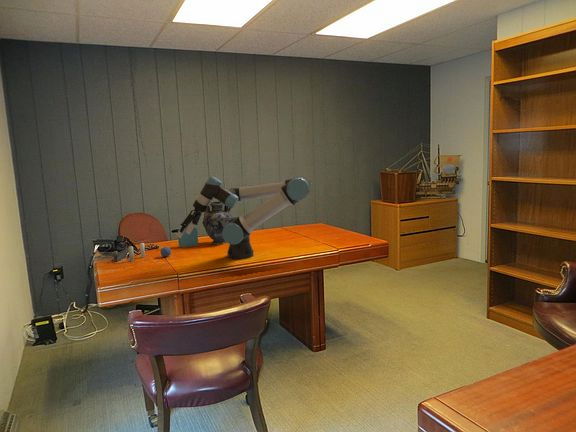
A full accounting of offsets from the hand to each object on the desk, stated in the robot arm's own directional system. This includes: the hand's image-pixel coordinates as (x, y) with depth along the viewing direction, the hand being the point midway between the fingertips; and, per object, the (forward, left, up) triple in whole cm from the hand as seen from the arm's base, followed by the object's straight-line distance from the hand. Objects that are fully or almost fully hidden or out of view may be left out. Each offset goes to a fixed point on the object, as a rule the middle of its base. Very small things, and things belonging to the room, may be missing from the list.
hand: (182, 235), depth 234 cm
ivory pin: (+30, -16, -16) cm, 37 cm away
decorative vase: (-8, -53, -16) cm, 56 cm away
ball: (+16, -16, -13) cm, 26 cm away
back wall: (+42, -16, -16) cm, 47 cm away
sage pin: (+33, -7, -16) cm, 37 cm away
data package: (+11, -46, -16) cm, 50 cm away
